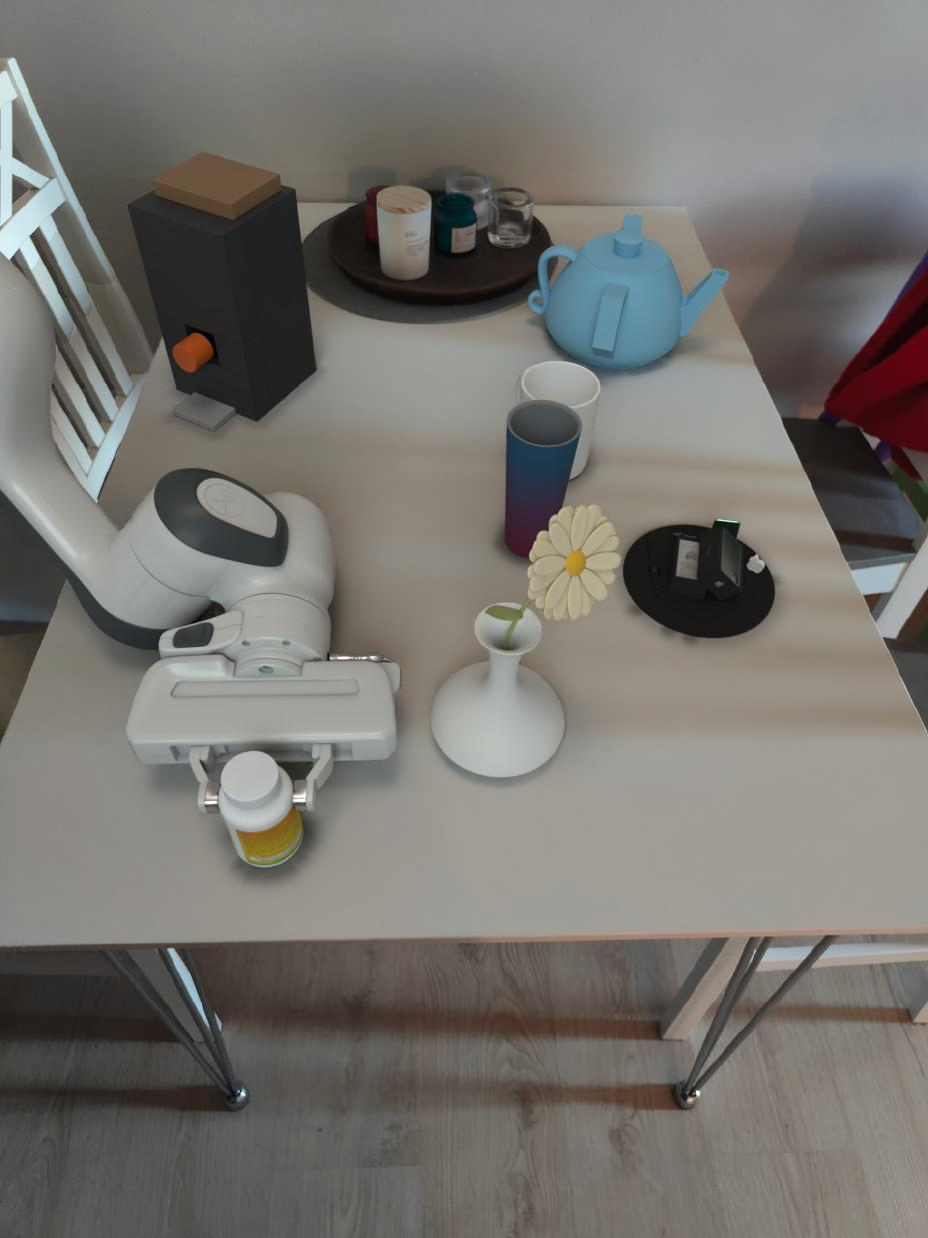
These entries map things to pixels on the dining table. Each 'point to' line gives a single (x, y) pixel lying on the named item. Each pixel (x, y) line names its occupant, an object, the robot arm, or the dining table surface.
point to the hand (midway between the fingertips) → (255, 808)
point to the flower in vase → (501, 688)
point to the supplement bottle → (259, 809)
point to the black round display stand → (699, 579)
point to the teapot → (619, 299)
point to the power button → (192, 352)
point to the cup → (537, 468)
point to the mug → (564, 397)
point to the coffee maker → (227, 284)
